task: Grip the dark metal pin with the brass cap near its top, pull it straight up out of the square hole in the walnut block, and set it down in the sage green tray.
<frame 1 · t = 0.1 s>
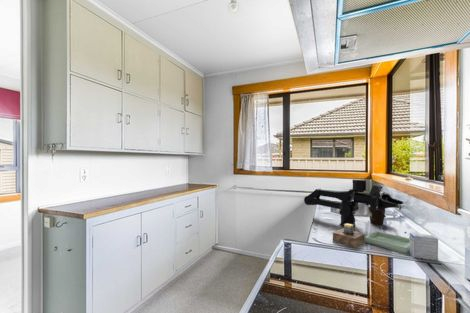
hand: (400, 204, 111), 17 cm above the worktop, tool horizontal, fingers open, 9 cm apart
pin: (348, 233, 106), in the pin block
medicine box: (423, 257, 90), on the worktop
tray: (389, 243, 103), on the worktop
pin block: (348, 241, 106), on the worktop
coffee mug: (376, 224, 132), on the worktop
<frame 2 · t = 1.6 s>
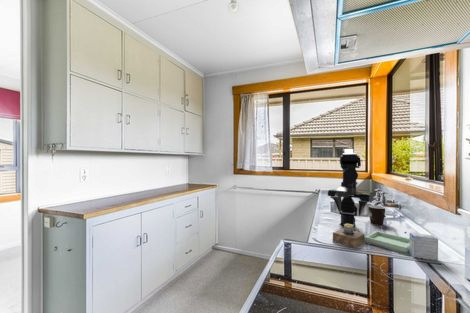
hand: (349, 213, 106), 13 cm above the worktop, tool pointing down, fingers open, 9 cm apart
nothing on the worktop moved.
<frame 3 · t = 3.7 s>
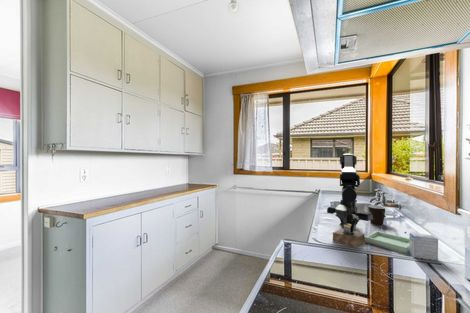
hand: (348, 231, 106), 5 cm above the worktop, tool pointing down, fingers closed on pin, 3 cm apart
pin: (348, 233, 106), in the pin block, touching gripper
everything else where it was.
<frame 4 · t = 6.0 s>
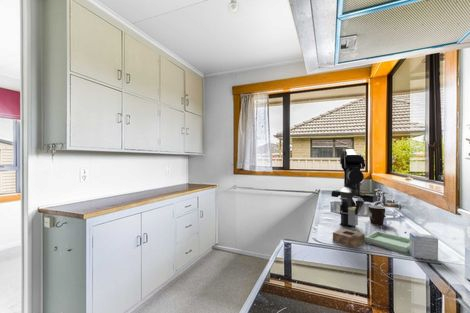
hand: (353, 214, 105), 13 cm above the worktop, tool pointing down, fingers closed on pin, 3 cm apart
pin: (353, 216, 105), point 12 cm above the worktop, touching gripper
everything else where it was.
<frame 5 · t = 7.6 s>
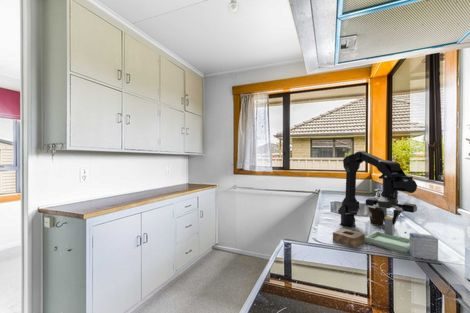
hand: (389, 223, 103), 9 cm above the worktop, tool pointing down, fingers closed on pin, 3 cm apart
pin: (389, 225, 103), point 8 cm above the worktop, touching gripper
everything else where it was.
when the fingers open (8 cm above the worktop, at t = 8.5 s): pin drops 2 cm, resting on tray.
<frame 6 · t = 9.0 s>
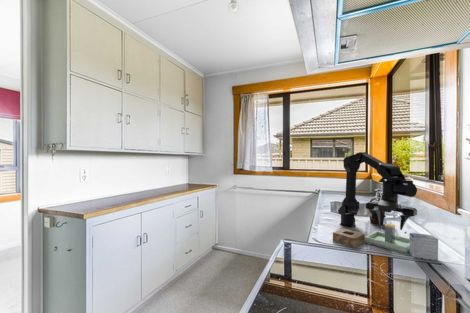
hand: (389, 227, 103), 8 cm above the worktop, tool pointing down, fingers open, 8 cm apart
pin: (389, 233, 103), in the tray, point 5 cm above the worktop
everything else where it was.
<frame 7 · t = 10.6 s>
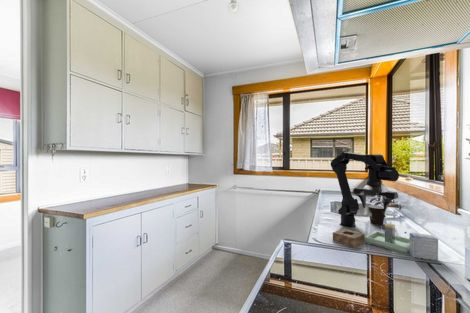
hand: (374, 209, 114), 13 cm above the worktop, tool pointing down, fingers open, 9 cm apart
nothing on the worktop moved.
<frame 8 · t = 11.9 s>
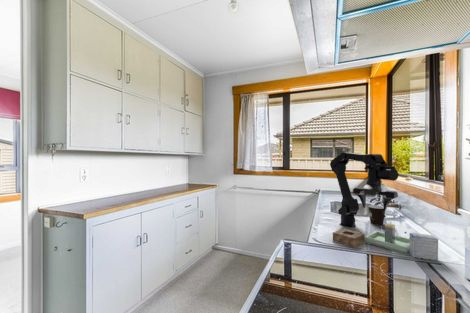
hand: (374, 209, 114), 13 cm above the worktop, tool pointing down, fingers open, 9 cm apart
nothing on the worktop moved.
at the end: pin inside the target area on the tray (0.0 cm from its centre), point 4.8 cm above the tray's base; the gripper is holding nothing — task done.
